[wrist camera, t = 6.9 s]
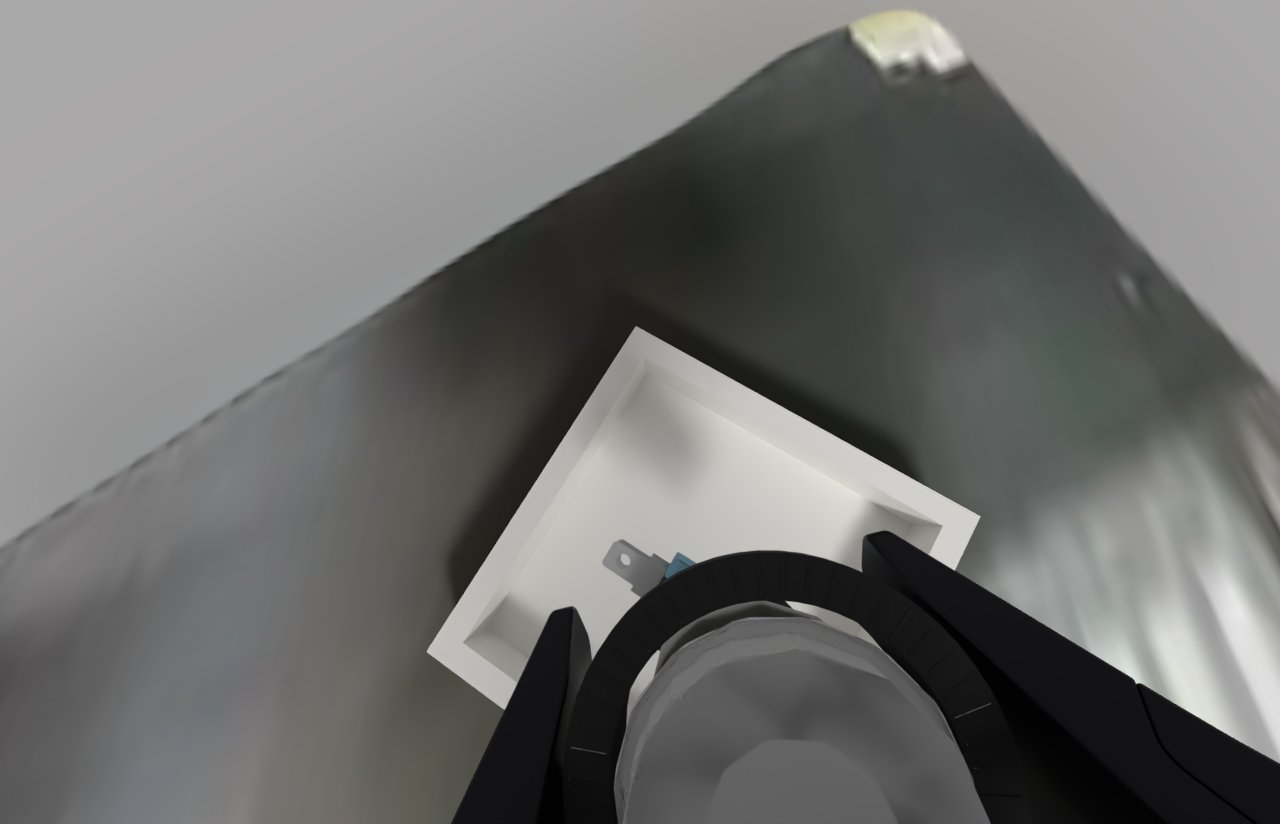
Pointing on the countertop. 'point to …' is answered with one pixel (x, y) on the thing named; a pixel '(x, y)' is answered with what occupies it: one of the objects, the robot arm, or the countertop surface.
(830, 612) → the tray
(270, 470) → the countertop surface
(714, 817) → the push button
